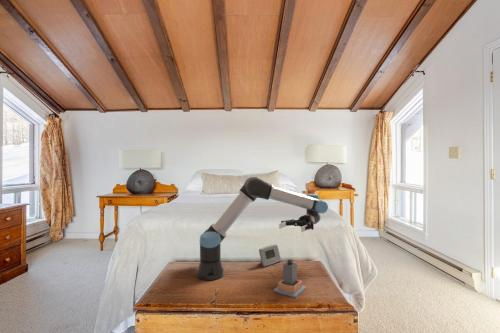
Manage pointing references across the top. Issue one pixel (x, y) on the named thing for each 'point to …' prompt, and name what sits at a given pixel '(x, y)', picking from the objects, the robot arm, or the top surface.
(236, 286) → the top surface
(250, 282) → the top surface
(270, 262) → the digital clock
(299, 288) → the end holder
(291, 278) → the bottle
